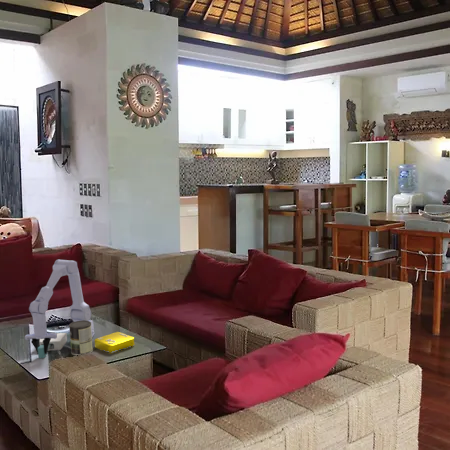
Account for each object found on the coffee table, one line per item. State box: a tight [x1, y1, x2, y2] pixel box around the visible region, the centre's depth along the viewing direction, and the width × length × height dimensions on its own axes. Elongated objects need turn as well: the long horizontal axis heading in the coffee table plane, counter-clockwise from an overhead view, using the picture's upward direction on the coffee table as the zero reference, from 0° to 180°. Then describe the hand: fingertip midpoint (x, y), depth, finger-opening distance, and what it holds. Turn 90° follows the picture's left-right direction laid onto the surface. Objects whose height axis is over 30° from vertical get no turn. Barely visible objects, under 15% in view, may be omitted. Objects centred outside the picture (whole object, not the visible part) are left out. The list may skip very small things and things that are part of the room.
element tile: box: [94, 331, 136, 352], centre depth 275 cm, size 15×15×5 cm
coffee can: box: [68, 320, 94, 357], centre depth 268 cm, size 10×10×14 cm
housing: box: [40, 332, 68, 351], centre depth 278 cm, size 12×12×4 cm
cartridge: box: [37, 344, 52, 359], centre depth 269 cm, size 14×3×5 cm, turn 0°
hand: (42, 353), depth 264 cm, fingers closed on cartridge, 3 cm apart
